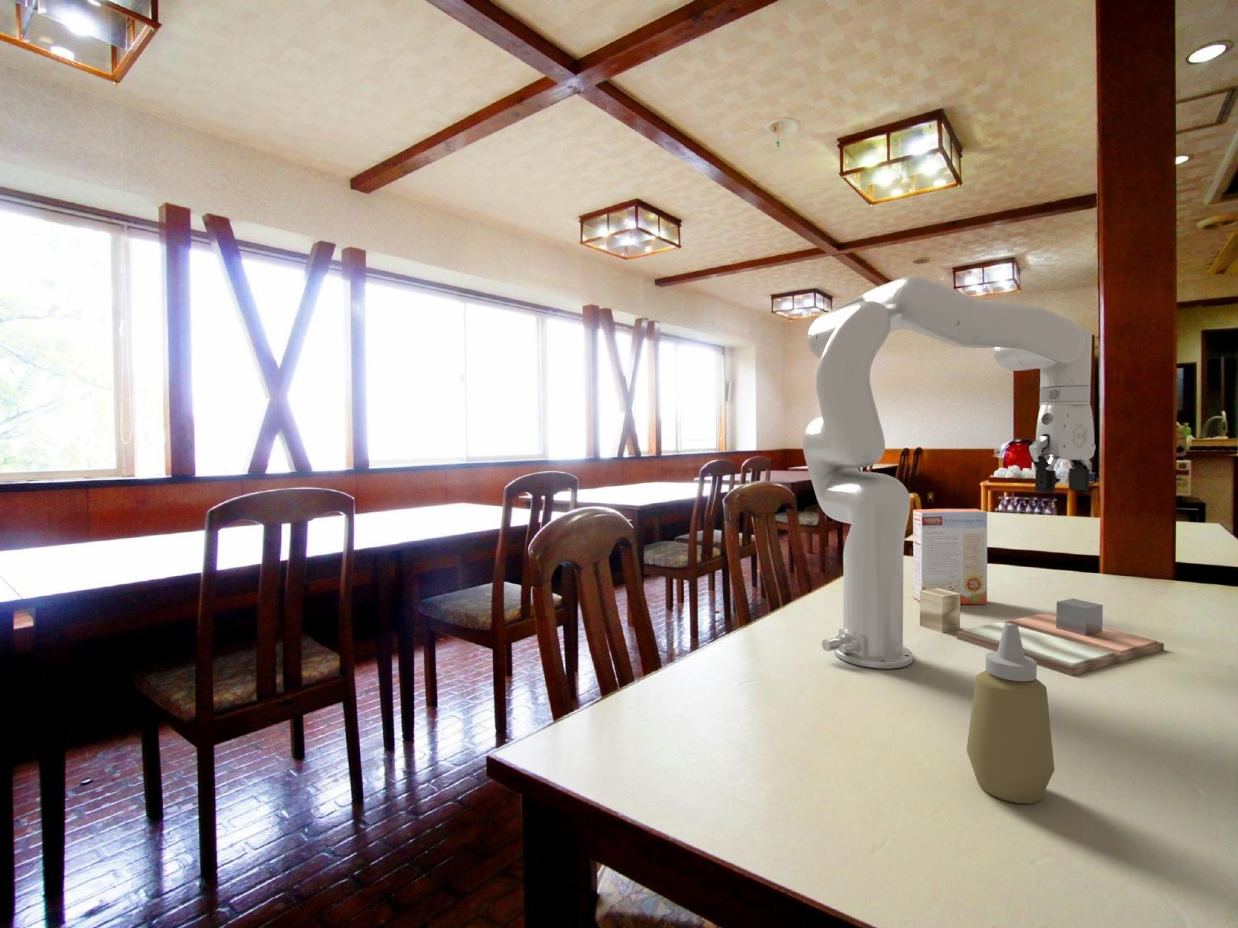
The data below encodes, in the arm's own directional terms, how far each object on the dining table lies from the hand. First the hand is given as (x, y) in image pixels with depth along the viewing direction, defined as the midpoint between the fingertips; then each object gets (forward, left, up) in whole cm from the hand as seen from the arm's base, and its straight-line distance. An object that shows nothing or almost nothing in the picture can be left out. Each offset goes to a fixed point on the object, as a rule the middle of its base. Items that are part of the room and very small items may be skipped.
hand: (1062, 491), depth 114 cm
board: (-4, -2, -27) cm, 28 cm away
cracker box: (+4, +26, -28) cm, 38 cm away
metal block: (+2, -2, -26) cm, 26 cm away
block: (-14, +14, -27) cm, 34 cm away
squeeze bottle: (-56, -28, -28) cm, 69 cm away
